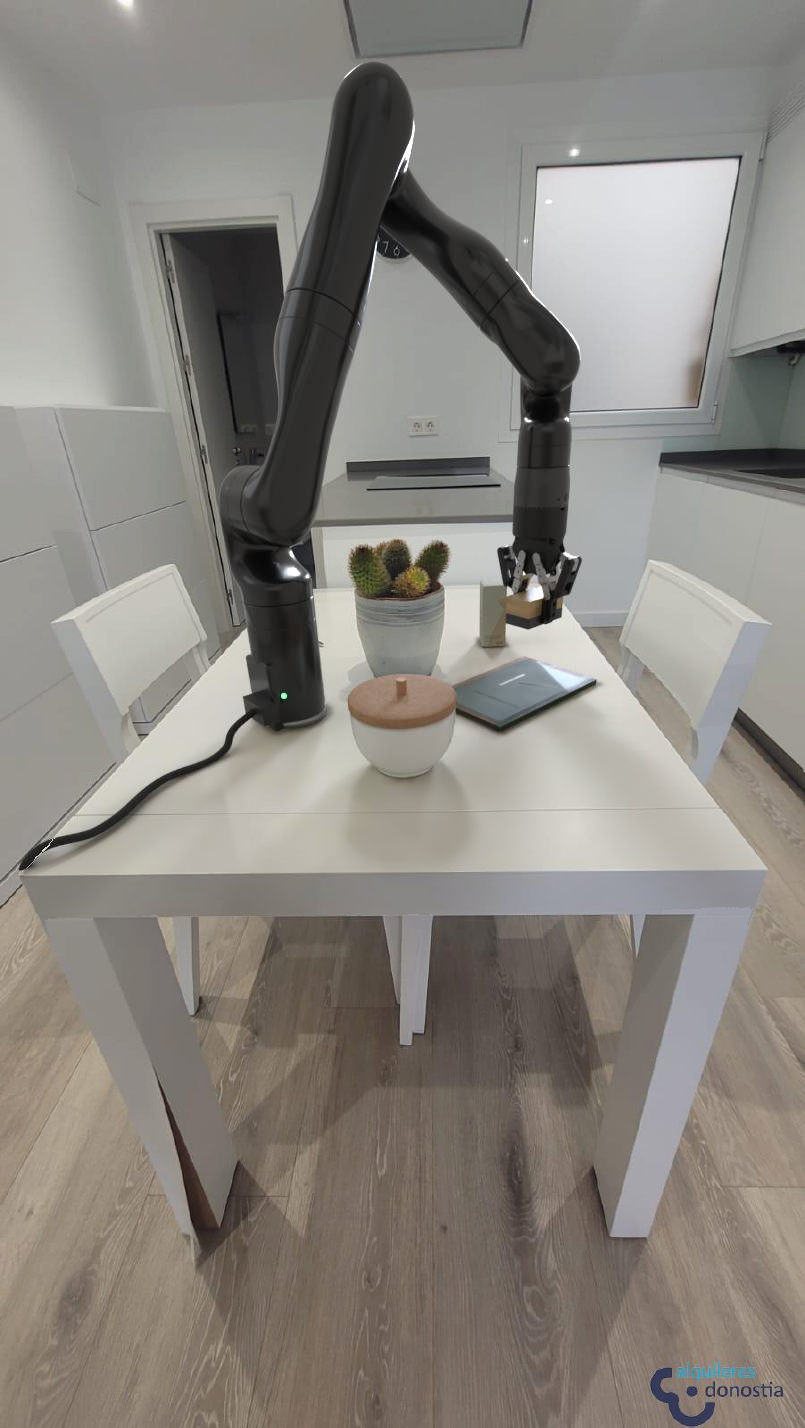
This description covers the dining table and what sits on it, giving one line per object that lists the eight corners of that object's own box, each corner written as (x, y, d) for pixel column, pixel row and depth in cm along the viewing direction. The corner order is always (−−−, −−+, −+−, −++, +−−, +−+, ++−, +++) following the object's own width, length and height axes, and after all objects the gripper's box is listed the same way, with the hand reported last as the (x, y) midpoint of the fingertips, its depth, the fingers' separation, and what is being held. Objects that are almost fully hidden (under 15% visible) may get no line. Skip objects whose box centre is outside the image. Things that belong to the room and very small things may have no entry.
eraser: (528, 629, 87) (530, 601, 85) (505, 623, 90) (506, 596, 88) (561, 617, 91) (564, 590, 89) (538, 611, 94) (540, 585, 92)
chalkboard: (500, 732, 78) (500, 726, 78) (428, 700, 88) (428, 695, 88) (596, 684, 91) (596, 679, 90) (524, 660, 100) (524, 656, 100)
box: (505, 646, 107) (507, 585, 102) (481, 647, 107) (482, 586, 102) (501, 637, 111) (503, 578, 106) (478, 637, 112) (479, 579, 107)
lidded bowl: (341, 749, 76) (333, 669, 71) (431, 729, 80) (430, 652, 75) (371, 801, 65) (365, 712, 60) (474, 776, 69) (476, 689, 64)
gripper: (484, 500, 86) (482, 615, 93) (567, 508, 76) (557, 636, 83) (518, 494, 90) (513, 605, 98) (601, 501, 80) (588, 623, 88)
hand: (533, 618), depth 90 cm, fingers closed on eraser, 4 cm apart
